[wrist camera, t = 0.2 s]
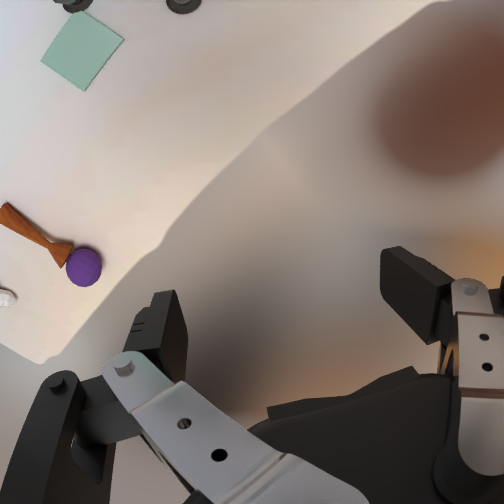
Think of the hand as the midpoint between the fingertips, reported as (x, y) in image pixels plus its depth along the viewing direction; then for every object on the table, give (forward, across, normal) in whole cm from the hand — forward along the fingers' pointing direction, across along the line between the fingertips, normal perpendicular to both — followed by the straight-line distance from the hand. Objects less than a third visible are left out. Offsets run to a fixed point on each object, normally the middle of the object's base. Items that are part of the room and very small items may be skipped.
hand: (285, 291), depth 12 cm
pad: (+25, +16, -21) cm, 37 cm away
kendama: (+34, +30, +2) cm, 46 cm away
